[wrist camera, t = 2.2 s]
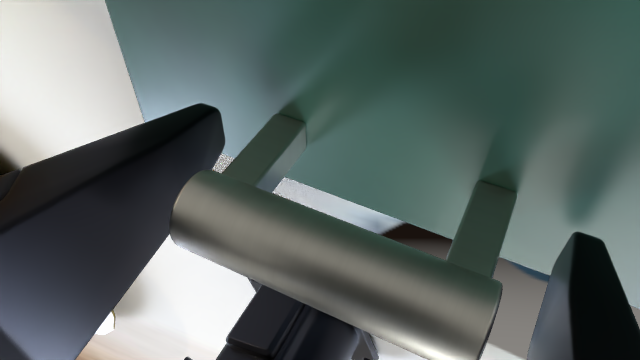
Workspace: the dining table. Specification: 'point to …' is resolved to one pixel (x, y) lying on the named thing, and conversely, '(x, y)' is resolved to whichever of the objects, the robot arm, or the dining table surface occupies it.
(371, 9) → the lid
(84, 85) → the dining table surface
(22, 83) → the dining table surface
